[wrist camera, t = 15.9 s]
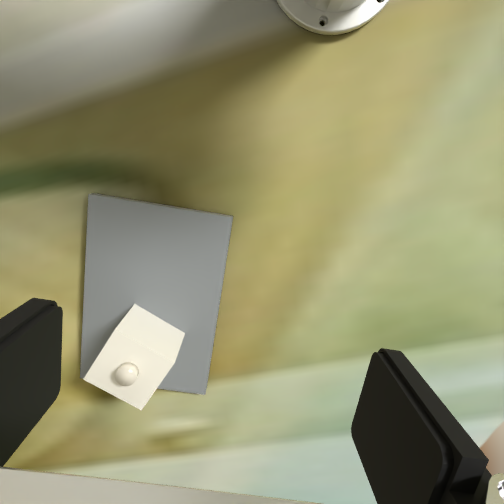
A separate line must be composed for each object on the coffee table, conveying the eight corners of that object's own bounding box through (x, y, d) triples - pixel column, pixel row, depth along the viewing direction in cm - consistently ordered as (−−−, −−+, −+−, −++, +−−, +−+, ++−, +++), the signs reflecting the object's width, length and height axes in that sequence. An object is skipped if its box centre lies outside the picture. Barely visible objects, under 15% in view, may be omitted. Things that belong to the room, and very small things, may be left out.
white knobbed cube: (106, 347, 40) (78, 385, 33) (134, 303, 39) (110, 334, 32) (156, 374, 41) (138, 417, 34) (185, 333, 40) (172, 368, 33)
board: (93, 192, 37) (88, 194, 35) (233, 215, 37) (232, 217, 36) (84, 372, 42) (80, 378, 41) (206, 388, 43) (205, 394, 42)
